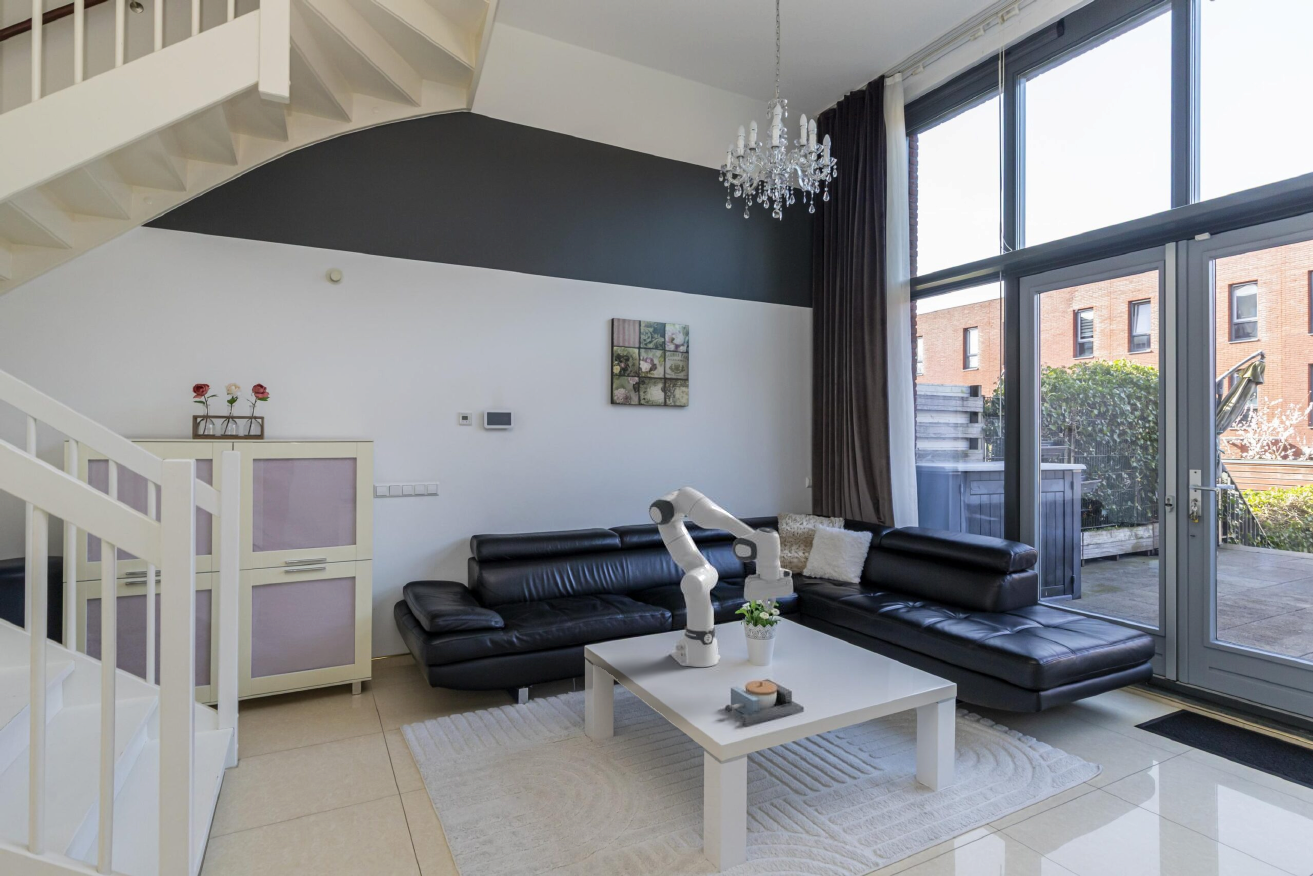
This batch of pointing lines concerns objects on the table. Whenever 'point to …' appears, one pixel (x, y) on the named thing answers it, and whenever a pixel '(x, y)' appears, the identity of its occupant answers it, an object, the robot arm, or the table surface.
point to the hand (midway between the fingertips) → (768, 610)
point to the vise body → (774, 708)
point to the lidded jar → (763, 693)
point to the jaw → (743, 701)
